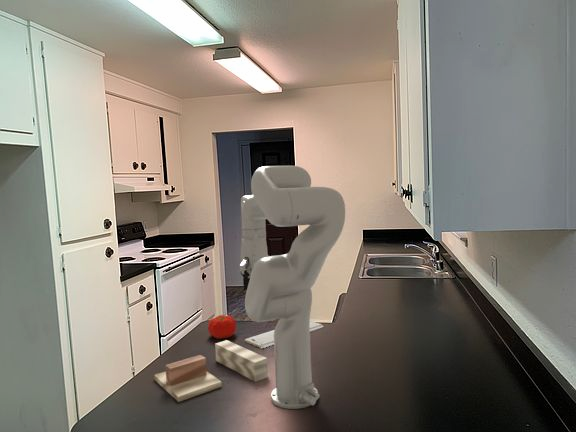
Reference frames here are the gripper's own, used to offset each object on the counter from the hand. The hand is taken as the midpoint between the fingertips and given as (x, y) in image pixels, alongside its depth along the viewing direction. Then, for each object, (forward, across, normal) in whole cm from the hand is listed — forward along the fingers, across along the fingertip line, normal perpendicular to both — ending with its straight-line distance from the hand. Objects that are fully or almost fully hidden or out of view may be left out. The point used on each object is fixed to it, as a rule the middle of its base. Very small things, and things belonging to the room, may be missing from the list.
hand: (256, 286), depth 137 cm
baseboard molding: (+26, -24, -2) cm, 35 cm away
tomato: (+25, -14, -25) cm, 38 cm away
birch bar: (+25, +8, -2) cm, 26 cm away
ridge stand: (+24, +22, -12) cm, 35 cm away
